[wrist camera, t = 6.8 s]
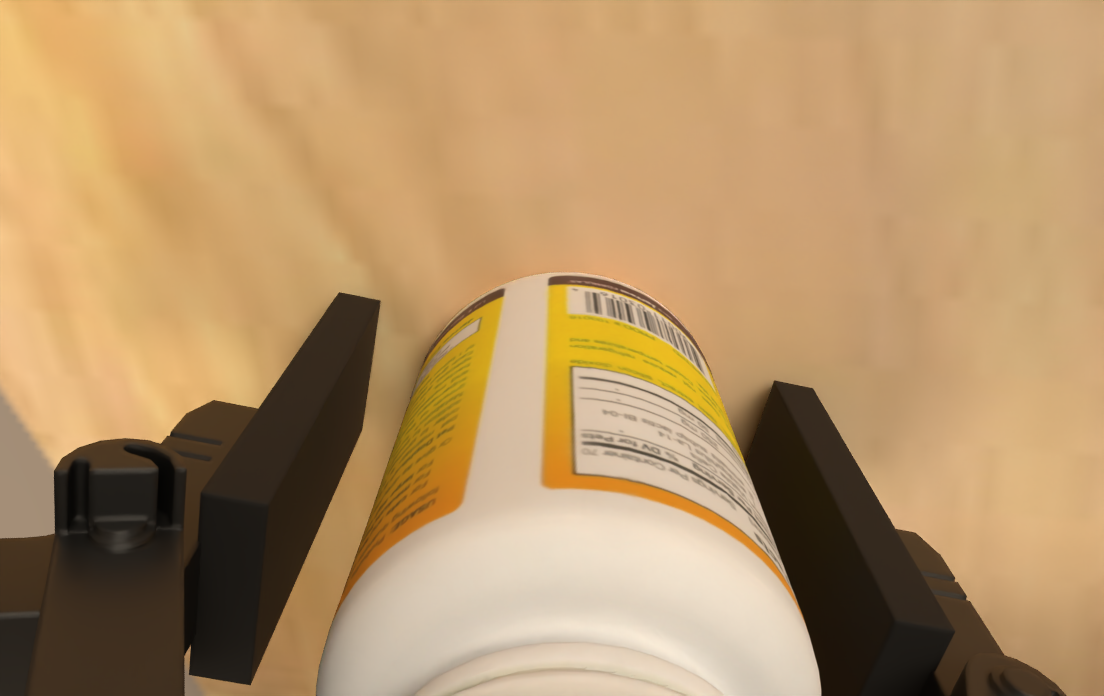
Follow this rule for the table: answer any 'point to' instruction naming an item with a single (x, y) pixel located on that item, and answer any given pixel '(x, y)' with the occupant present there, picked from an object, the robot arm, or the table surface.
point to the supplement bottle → (567, 518)
